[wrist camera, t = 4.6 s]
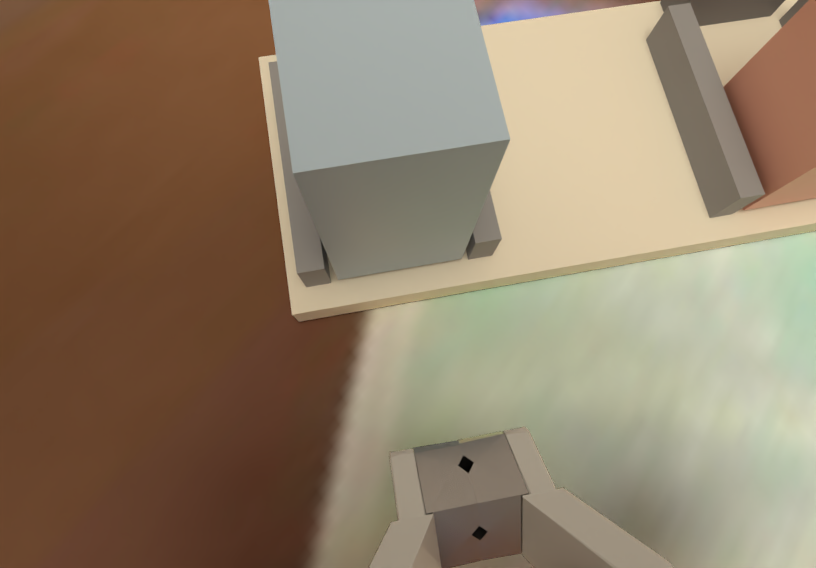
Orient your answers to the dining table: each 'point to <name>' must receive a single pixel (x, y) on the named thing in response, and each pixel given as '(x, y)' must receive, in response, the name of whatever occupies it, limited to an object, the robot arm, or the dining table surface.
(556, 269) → the cream socket board
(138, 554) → the dining table surface
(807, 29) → the salmon orange upright block
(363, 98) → the blue-grey rectangular block
